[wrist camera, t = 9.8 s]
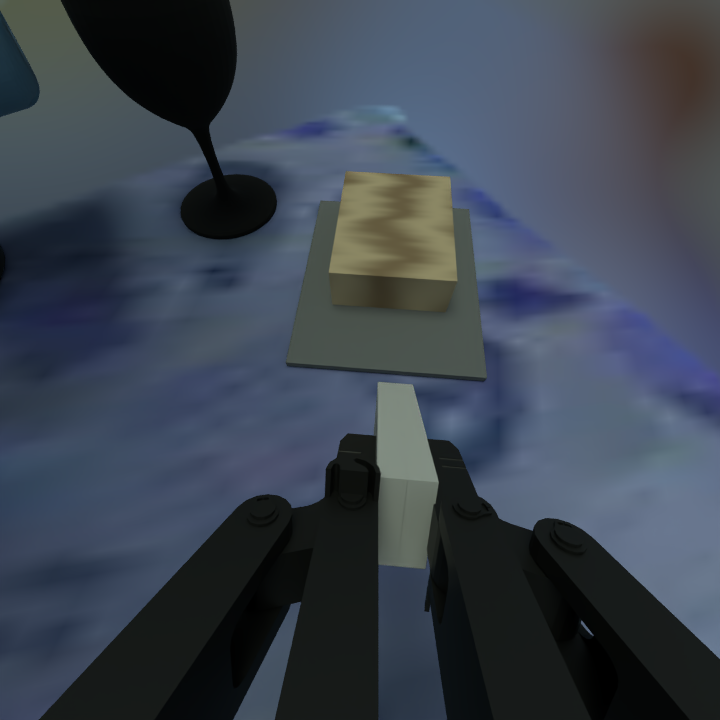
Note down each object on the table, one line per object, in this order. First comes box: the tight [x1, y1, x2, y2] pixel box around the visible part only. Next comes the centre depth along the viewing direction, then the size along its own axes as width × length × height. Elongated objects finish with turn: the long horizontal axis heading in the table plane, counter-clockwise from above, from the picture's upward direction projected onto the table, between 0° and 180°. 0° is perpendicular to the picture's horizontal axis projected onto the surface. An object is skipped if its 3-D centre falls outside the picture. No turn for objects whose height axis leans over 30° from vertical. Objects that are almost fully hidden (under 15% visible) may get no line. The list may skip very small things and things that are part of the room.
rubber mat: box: [286, 201, 487, 381], centre depth 31 cm, size 16×20×1 cm
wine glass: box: [61, 0, 277, 239], centre depth 28 cm, size 10×10×20 cm
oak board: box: [329, 171, 457, 312], centre depth 31 cm, size 10×4×13 cm
